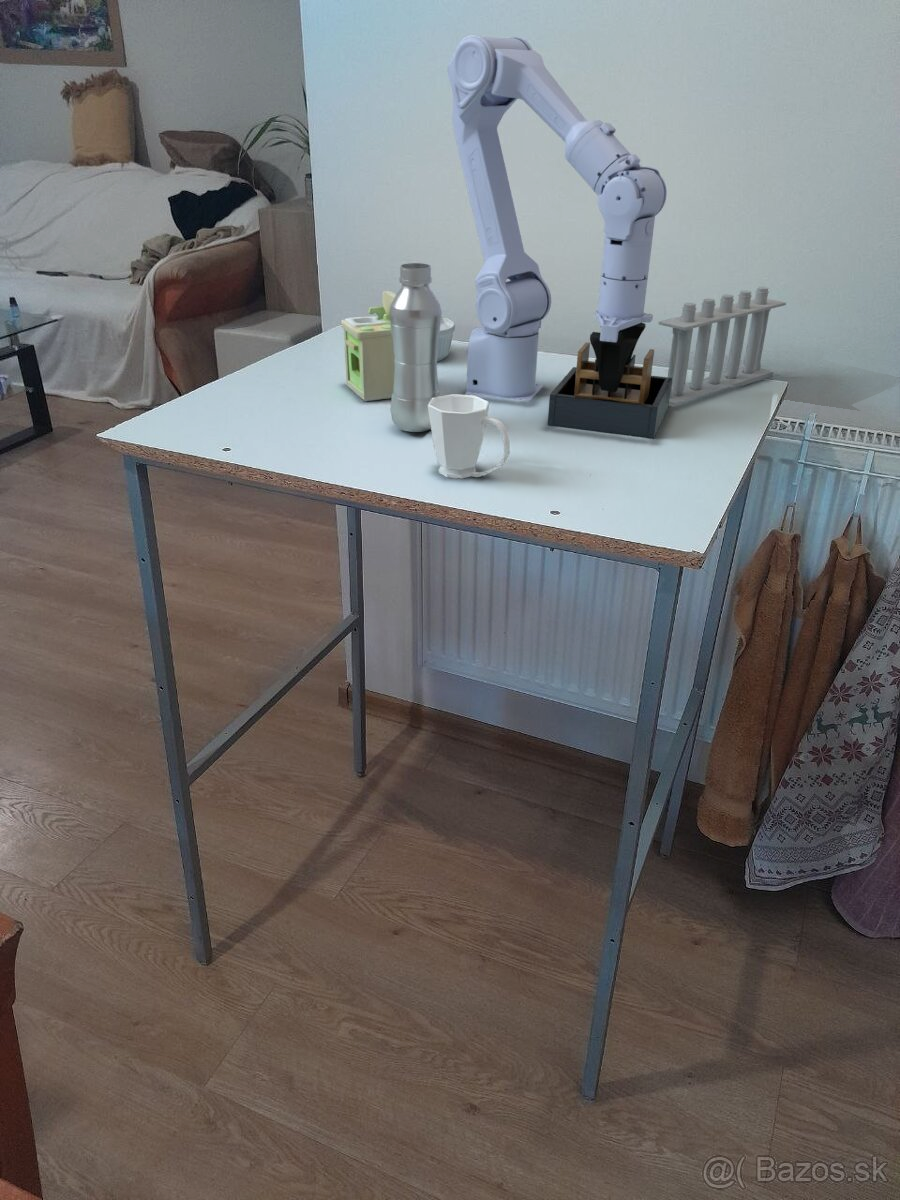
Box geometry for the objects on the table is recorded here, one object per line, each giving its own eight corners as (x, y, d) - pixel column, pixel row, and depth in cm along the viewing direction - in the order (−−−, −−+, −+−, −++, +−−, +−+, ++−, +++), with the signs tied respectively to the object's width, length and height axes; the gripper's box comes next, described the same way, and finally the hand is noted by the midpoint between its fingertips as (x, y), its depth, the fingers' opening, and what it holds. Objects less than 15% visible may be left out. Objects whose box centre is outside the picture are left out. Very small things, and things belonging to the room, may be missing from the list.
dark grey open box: (547, 429, 121) (549, 394, 119) (570, 399, 132) (573, 366, 130) (653, 443, 117) (657, 407, 115) (668, 410, 128) (672, 377, 126)
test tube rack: (673, 408, 129) (687, 310, 123) (647, 401, 132) (659, 304, 125) (773, 376, 144) (789, 286, 137) (747, 369, 147) (763, 282, 140)
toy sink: (341, 385, 136) (337, 292, 130) (389, 380, 139) (388, 288, 132) (360, 402, 129) (357, 305, 123) (410, 397, 132) (409, 301, 125)
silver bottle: (448, 424, 122) (451, 263, 112) (430, 441, 117) (431, 273, 107) (402, 418, 124) (400, 259, 114) (382, 434, 118) (379, 268, 108)
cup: (448, 455, 112) (449, 389, 108) (521, 474, 108) (525, 405, 104) (414, 474, 107) (414, 405, 103) (490, 494, 102) (493, 422, 98)
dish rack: (573, 397, 122) (577, 351, 119) (581, 387, 126) (585, 342, 123) (642, 406, 120) (648, 358, 117) (648, 395, 124) (654, 349, 121)
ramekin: (461, 363, 147) (462, 329, 144) (390, 366, 145) (390, 332, 142) (446, 345, 157) (446, 312, 154) (379, 347, 154) (379, 315, 152)
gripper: (647, 290, 109) (634, 404, 115) (665, 268, 120) (651, 373, 127) (587, 285, 110) (577, 397, 117) (610, 264, 122) (600, 367, 129)
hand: (612, 384), depth 122 cm, fingers closed on dish rack, 5 cm apart
